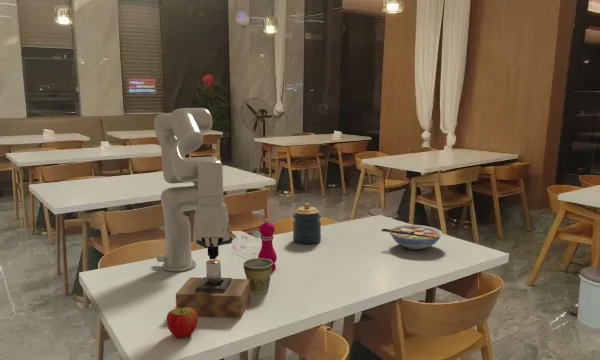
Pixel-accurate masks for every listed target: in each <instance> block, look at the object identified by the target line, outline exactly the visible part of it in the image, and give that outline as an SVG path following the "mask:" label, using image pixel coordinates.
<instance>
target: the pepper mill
mask: <svg viewBox="0 0 600 360" xmlns="http://www.w3.org/2000/svg"><path fill="white" fill-rule="evenodd" d="M275 230H276V227H275V225H274V224H273V223H271V222H270V219H269V218H265V219H264V222H263V223H261V224H260V225H259V228H258V232H259V234H260V240H261V248H260V251H259V252H258V256H257V258H264V259H271V260H272V262H273V265H272V272H274V271H275V270H276V269H277V268H276V266H277V265H276V262H277V260H278V256H277V253H276V250H275V249H274V245H273V240H274V238H275V237H274V236H275V235H274V234H275V232H276V231H275Z"/></svg>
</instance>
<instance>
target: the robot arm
mask: <svg viewBox="0 0 600 360" xmlns="http://www.w3.org/2000/svg"><path fill="white" fill-rule="evenodd" d="M153 127H154V133H155V136H156V137H157V140H158V143H159V145H160V150H161V163H162V174H163V179H164V181H165V183H167V184H186V183H192V184H193V185H187V186H185V185H184V186H173V187H168V188H165V189H164V190H163V191H162V192H161V195H160V202H161V206H162V211H163V219H164V232H165V233H164V234H165V235H164V236H165V251H166V253H165V255H156V261H157V262H158V263H160V262H161V263H163V264H162V269H163V270H164V271H166V272H175V273H176V272H185V271H189V270H192V269H193V268H195V267H196V264H197V263H196V260H194V259H193V258H192V243H191V242H192V241H191V236H192V234H191V222H190V220H189V218H188V216H186V215H185V214H184V212H187V211H194V225H193V226H194V227H193V231H194V236H195V237H194V238H195V240H197V241H201V242H202V243H204V245H205V246H206V247H207V256H208V257H209V260H217V258H218V257H219V255H220V253H219V252H220V251H219V245H220V244H221V243H222V242H226V241H229V240H230V239H231V236H230V221H229V212H228V208H227V207H228V206H227V204H226V203H224V201H225V200H224V199H225V198H224V177H223V176H224V173H223V172H224V171H223V170H224V169H223V167H224V166H223V163H222V161H221V160H219V159H218V158H217V157H215V156H195V157H191V156H190V157H186V155H189V154H190V153H193V152H195V151H197V150H198V149H200V148H201V146H202V145H203V144H204V143H203V142H204V136H203V134H206V133H208V132H210V131H211V130H212V127H213V116H212V114H211V112H210V111H209V110H208V109H207V108H205V107H183V108H177V109H174V110H173V111H172V112H166V113H159V114H158V115H157V116H155V117H154V121H153Z"/></svg>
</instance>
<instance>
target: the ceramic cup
mask: <svg viewBox="0 0 600 360" xmlns="http://www.w3.org/2000/svg"><path fill="white" fill-rule="evenodd" d="M272 265H273V262H272V260H271V259H264V258H258V257H257V258H250V259H246V260H245V261H243V269H244V274H245V276H246V278H245V279H250V294H253V295H264V294H266V293H268V292H269V289H270V288H269V287H270V282H271V277H272V272H273V271H272Z"/></svg>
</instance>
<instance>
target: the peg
mask: <svg viewBox="0 0 600 360" xmlns="http://www.w3.org/2000/svg"><path fill="white" fill-rule="evenodd" d="M205 265H206V267H205V269H206V270H205V271H206V277H207V286H220V285H221V278H222V274H221V273H222V270H221V268H222V265H221V260H219V259H209V260H207V261H206V262H205Z"/></svg>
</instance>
